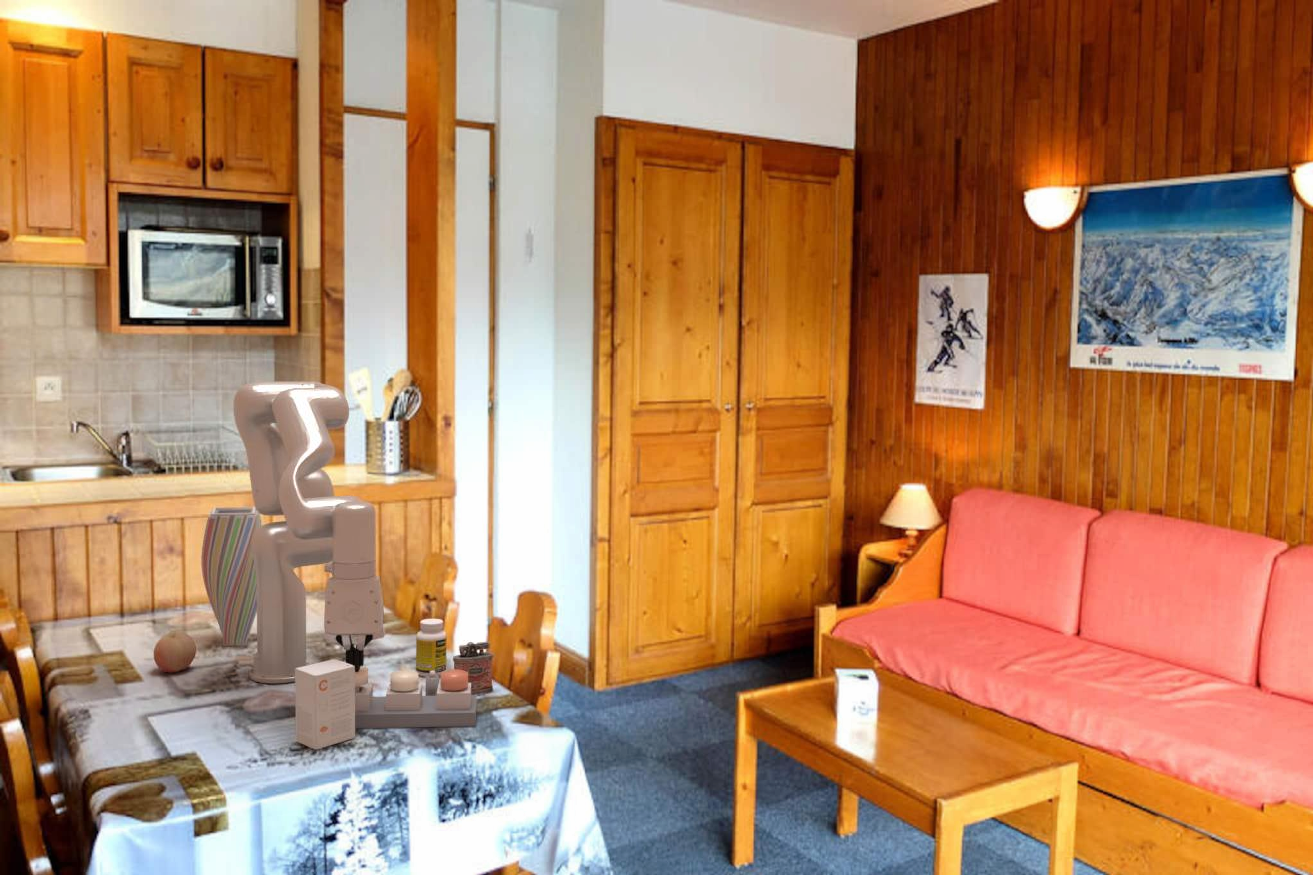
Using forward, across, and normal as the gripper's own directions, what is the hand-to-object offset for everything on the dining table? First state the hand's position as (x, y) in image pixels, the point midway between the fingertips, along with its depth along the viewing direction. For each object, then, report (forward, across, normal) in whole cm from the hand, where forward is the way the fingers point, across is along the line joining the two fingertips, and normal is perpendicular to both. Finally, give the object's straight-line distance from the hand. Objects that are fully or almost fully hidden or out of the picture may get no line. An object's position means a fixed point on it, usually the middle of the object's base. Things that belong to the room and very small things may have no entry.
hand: (354, 669), depth 207 cm
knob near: (+5, 0, 0) cm, 5 cm away
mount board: (+9, +9, 0) cm, 13 cm away
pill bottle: (+9, +12, +28) cm, 32 cm away
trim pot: (+9, +13, +9) cm, 18 cm away
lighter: (+10, +21, +15) cm, 27 cm away
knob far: (+7, +18, 0) cm, 19 cm away
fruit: (+9, -40, +32) cm, 52 cm away
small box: (+10, -4, -10) cm, 14 cm away
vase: (+9, -33, +53) cm, 63 cm away
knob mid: (+7, +9, 0) cm, 11 cm away
